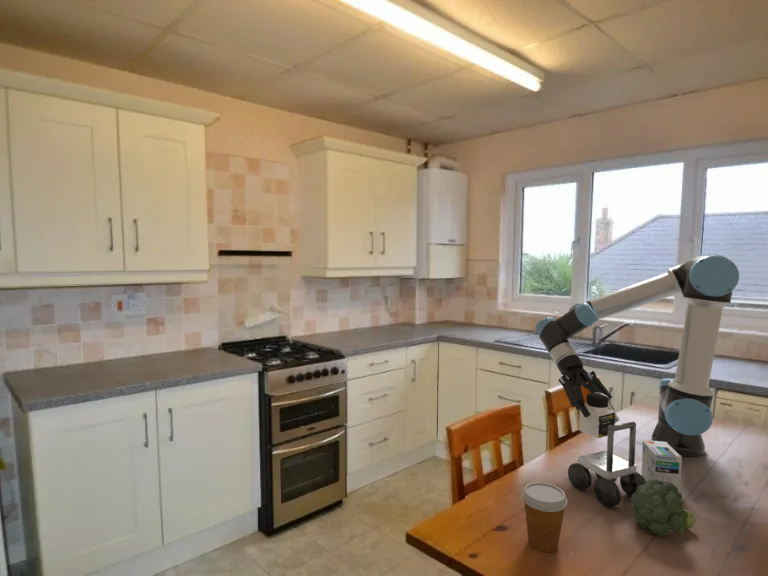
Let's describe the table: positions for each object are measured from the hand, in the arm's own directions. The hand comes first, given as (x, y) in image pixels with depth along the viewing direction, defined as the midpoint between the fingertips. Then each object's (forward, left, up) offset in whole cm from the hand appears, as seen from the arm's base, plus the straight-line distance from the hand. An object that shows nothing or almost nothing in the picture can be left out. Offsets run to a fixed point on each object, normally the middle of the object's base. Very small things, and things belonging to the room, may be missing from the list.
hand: (606, 424), depth 137 cm
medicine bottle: (0, -3, -4) cm, 5 cm away
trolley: (+11, +10, -14) cm, 20 cm away
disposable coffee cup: (+42, +21, -14) cm, 49 cm away
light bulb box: (-7, +13, -14) cm, 20 cm away
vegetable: (+12, +27, -14) cm, 33 cm away
